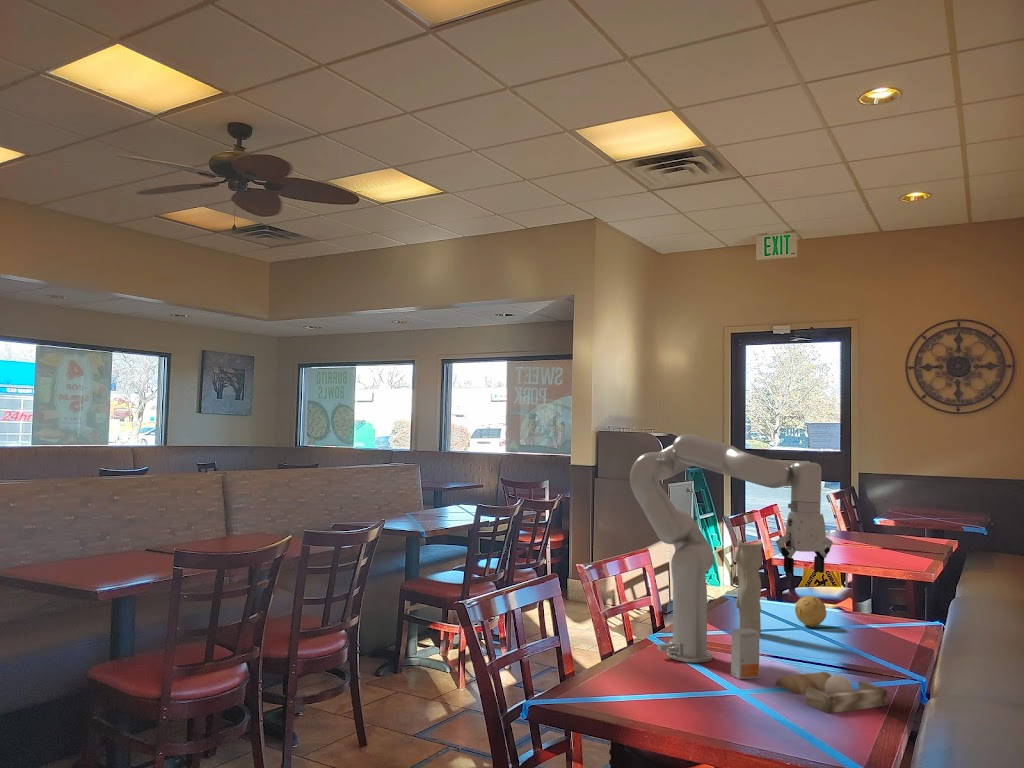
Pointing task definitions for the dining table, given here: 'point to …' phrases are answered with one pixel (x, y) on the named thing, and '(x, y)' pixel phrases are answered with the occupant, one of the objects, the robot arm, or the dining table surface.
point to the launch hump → (803, 682)
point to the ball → (837, 685)
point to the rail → (847, 698)
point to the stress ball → (810, 611)
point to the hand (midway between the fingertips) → (803, 572)
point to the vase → (749, 584)
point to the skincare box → (745, 653)
